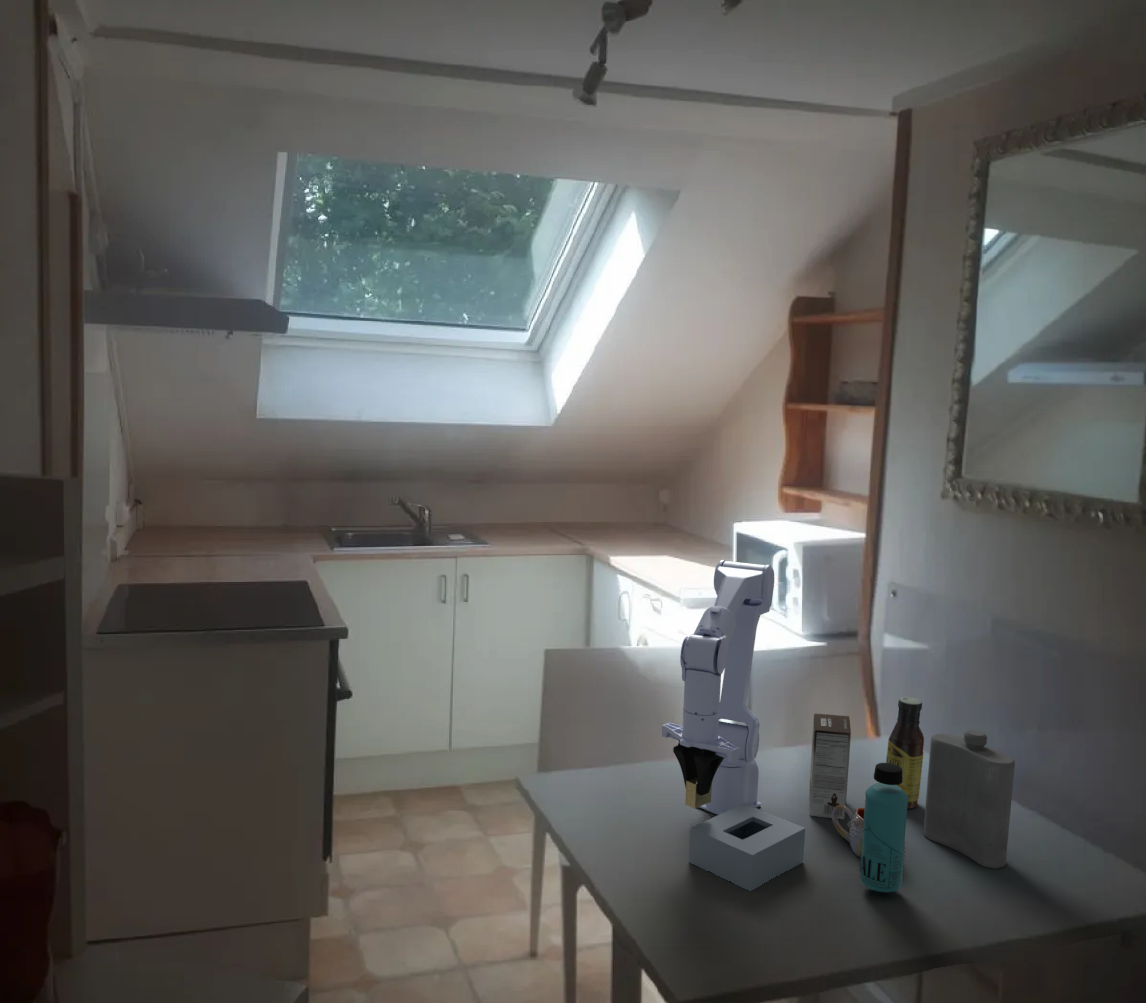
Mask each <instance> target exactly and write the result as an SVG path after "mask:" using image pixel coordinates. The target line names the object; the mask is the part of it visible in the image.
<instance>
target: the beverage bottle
mask: <svg viewBox="0 0 1146 1003" xmlns="http://www.w3.org/2000/svg"><path fill="white" fill-rule="evenodd" d="M873 779H874V780H875V781H876V782H877V783H873V784H872V785H870V786H869V787H868V788H866V790H865V793H864V795H865V800H864V801H865V802H864V805H865V806H864V808H865V811H864V813H863V814H864V825H863V824H862V826H863V828H862V829H863V832H862V833H863V837H862V838H863V839H861V840H862V841H861V842H862V843H861V844H862V845H861V846H862V852H861V851H860V853H861V855H860V856H861V857H860V858H859V861H860V864H859V870H858V871H859V874H858V876H859V879H860V882H861V883H862V885H863V886H865V887H866V888H868V889H870V890H873V891H875V892H881V893H894V892H898V891H899V890H900V889H901V888H902V885H903V878H904V870H905V864H904V863H905V857H906V856H905V853H906V851H905V850H906V849H905V848H906V842H905V840H906V831H907V830H906V827H907V817H908V809H907V805H908V799H909V798H908V796H907V794H906V793H905V792H904V791H903V790H902V789H901V788H900V787H899V786H897V785H899V784H901V783H902V781H903V777H902V768H901V767H900V766H898V765H895V764H892V763H886V762H878V763H876V765H875V766H874V773H873ZM863 810H864V809H863Z"/></svg>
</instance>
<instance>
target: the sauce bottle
mask: <svg viewBox="0 0 1146 1003" xmlns="http://www.w3.org/2000/svg"><path fill="white" fill-rule="evenodd" d="M897 706H898V713H897V719H896V722H895V724H894V727H893V729H892V731H891V733H890V735H889V737H888V741H887V742H888V743H887V750H886V751H887V752H886V758H885V763H892V764H895V765H898V766H900V767H901V768H902V777H903V781H902V783H901V784H899V785H897V786H899V787H900V788H901V789H902V790H903V791H904V792H905V793H906V794H907V796H908V798H909V799H908V805H907V810H909V809H915V808H916V807H917V806H918V801H919V798H920V790H921V779H922V771H923V770H922V768H923V762H924V761H923V760H924V745H925V737H924V733H923V732H922V729H921V727H920V724H921V723H920V722H921V721H920V717H921V716H920V715H921V711H922V708H923V701H922V700H921V699H919V698H917V697H912V696H901V697H899V698H898V702H897Z"/></svg>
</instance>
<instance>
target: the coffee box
mask: <svg viewBox="0 0 1146 1003" xmlns="http://www.w3.org/2000/svg"><path fill="white" fill-rule="evenodd" d="M851 730H852V728H851V720H850V716H848V715H839V714H825V713H814V714H813V725H812V740H811V742H812V743H811V758H810V771H809V772H810V773H809V796H808V797H809V798H808V799H809V803H808V804H809V816H810V817H818V818H825V819H826V818H828V819H832V811H833V809H834V807H836V806H837V805H844V806H846V807H847V793H848V792H847V791H848V779H849V778H848V777H849V767H850V766H849V764H850V752H851V750H850V749H851V739H852V737H851V736H852V731H851ZM837 818H838V820H846V819H845V818H846V812H845V811H844V810H842V809H839V810H838V812H837Z"/></svg>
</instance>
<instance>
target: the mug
mask: <svg viewBox="0 0 1146 1003" xmlns="http://www.w3.org/2000/svg"><path fill="white" fill-rule="evenodd" d="M839 809H842V810H844V811H845V814H847V815H848V817H849V819H850V820H849V821H848V822H847V827H848V829H849V830H848V831H849V832H848V831H847V830H846V829H844V828H843V827H842V825H841V823H840V822H839V819H838V818H837V812H838V810H839ZM863 809H864V810H863ZM864 811H865V807H856V808H855V810H854V812H852V811H851V809H850V808H849V807H848V806H847V805H846V806H844V805H837V806H836V807H834V809H833V811H832V818H831V820H832V823H833V825H834V827H835V829H836V831H837V832H838V834H839V835H840V836H842V838H843V839H844V840H846V841H847V843H849V845H850V847H851V848H850V849H851V850H852V852H853V854H855V855H856V856H857V857H859V858H861V856H860V855H861V853H860V851H861V852H862V846H861V845H862V844H861V843H862V842H861V841H862V840H861V839H863V838H862V837H863V833H862V832H863V829H862V828H863V826H862V824H863V825H864V814H863V813H864Z"/></svg>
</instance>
